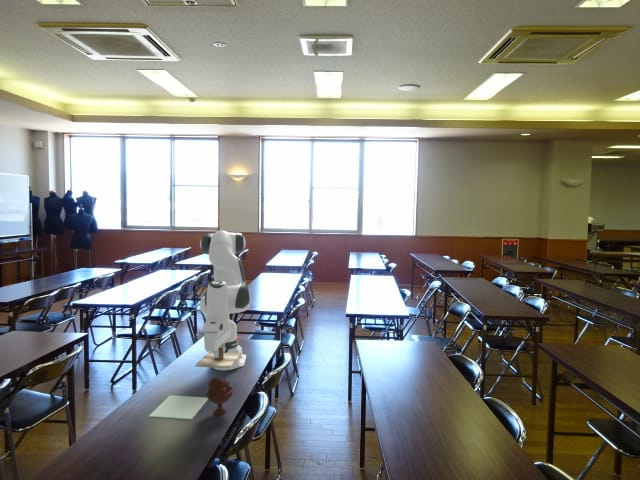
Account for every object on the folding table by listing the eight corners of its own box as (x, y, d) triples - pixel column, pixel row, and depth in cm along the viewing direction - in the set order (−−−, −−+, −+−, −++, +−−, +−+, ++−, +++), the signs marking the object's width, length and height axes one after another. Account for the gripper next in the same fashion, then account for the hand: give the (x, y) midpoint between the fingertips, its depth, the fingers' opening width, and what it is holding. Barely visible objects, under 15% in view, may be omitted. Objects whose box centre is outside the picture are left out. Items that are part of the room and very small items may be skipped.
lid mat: (170, 396, 185) (170, 395, 185) (209, 398, 183) (209, 397, 183) (149, 416, 168) (148, 415, 168) (191, 419, 165) (191, 418, 165)
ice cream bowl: (227, 420, 165) (226, 383, 164) (201, 417, 167) (200, 381, 166) (237, 407, 175) (237, 373, 174) (213, 404, 178) (212, 370, 176)
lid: (209, 353, 177) (208, 342, 177) (241, 355, 176) (240, 344, 175) (195, 366, 163) (195, 354, 163) (230, 368, 162) (229, 356, 161)
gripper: (219, 314, 179) (220, 345, 180) (200, 328, 158) (201, 363, 160) (234, 314, 178) (234, 346, 179) (216, 329, 158) (217, 364, 159)
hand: (218, 354), depth 169 cm, fingers closed on lid, 4 cm apart
